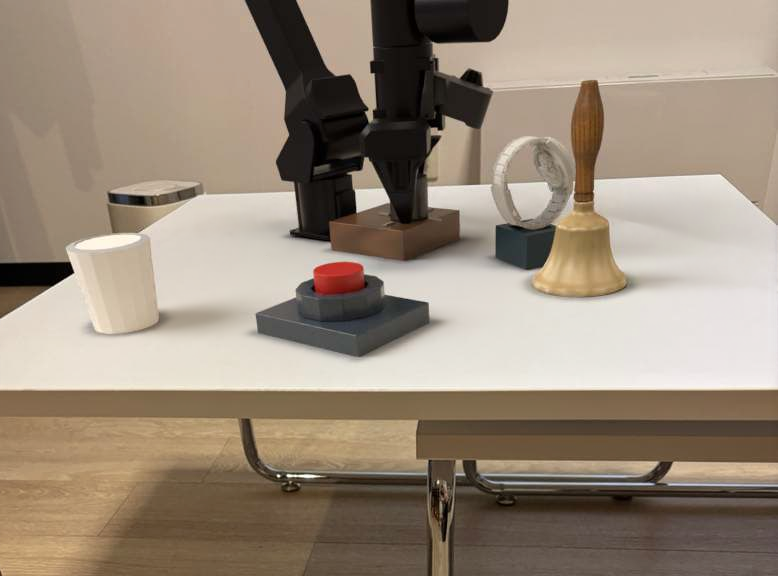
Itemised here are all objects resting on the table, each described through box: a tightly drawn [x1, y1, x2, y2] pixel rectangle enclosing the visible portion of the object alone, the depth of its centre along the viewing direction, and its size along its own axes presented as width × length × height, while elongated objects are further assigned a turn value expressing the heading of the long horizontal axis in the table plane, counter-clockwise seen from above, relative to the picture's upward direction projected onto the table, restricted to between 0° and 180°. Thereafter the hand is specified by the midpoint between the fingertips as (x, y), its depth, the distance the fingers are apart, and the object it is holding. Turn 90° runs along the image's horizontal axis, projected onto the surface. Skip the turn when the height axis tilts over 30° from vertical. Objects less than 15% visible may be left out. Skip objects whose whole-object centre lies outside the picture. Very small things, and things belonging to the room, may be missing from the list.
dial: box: [389, 172, 429, 221], centre depth 86 cm, size 4×4×4 cm
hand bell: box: [531, 79, 628, 298], centre depth 69 cm, size 8×8×16 cm
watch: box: [490, 135, 576, 271], centre depth 78 cm, size 6×8×11 cm
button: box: [312, 261, 365, 294], centre depth 66 cm, size 4×4×2 cm
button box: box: [254, 273, 430, 358], centre depth 67 cm, size 11×9×4 cm
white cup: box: [65, 232, 160, 335], centre depth 71 cm, size 7×7×7 cm
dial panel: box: [329, 202, 461, 262], centre depth 88 cm, size 11×10×3 cm
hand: (409, 217), depth 87 cm, fingers open, 5 cm apart
